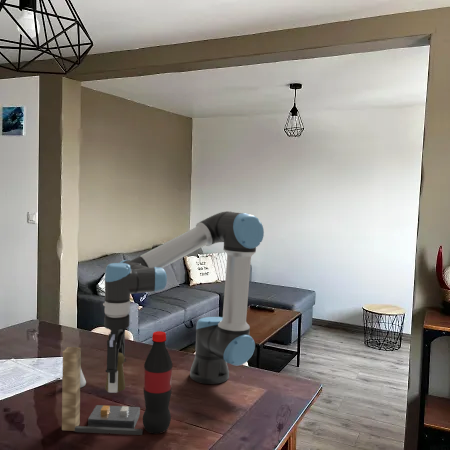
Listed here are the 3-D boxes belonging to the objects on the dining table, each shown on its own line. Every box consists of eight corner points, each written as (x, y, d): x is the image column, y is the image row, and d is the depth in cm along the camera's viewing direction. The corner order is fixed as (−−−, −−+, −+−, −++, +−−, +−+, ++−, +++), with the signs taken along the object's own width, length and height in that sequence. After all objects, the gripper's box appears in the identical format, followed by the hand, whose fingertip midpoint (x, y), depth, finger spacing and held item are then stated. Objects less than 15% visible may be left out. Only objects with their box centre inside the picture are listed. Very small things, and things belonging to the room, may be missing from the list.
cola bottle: (171, 422, 148) (174, 328, 145) (169, 436, 140) (172, 337, 137) (144, 421, 148) (147, 327, 145) (140, 435, 139) (143, 336, 137)
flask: (79, 390, 167) (80, 363, 166) (61, 388, 169) (61, 360, 168) (89, 382, 174) (90, 356, 173) (71, 379, 176) (72, 353, 175)
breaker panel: (139, 414, 152) (140, 402, 152) (134, 429, 143) (134, 416, 143) (96, 412, 152) (96, 400, 152) (87, 427, 143) (88, 414, 143)
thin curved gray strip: (142, 432, 141) (142, 429, 141) (142, 435, 140) (142, 431, 140) (75, 429, 141) (76, 425, 141) (74, 431, 140) (74, 428, 140)
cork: (101, 388, 146) (101, 353, 145) (117, 382, 151) (117, 348, 150) (113, 394, 142) (114, 358, 141) (129, 387, 147) (130, 353, 146)
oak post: (79, 424, 145) (80, 347, 142) (75, 430, 141) (76, 352, 138) (66, 423, 145) (67, 347, 142) (61, 430, 141) (62, 351, 138)
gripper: (112, 305, 154) (111, 374, 156) (95, 322, 135) (94, 400, 137) (135, 306, 154) (133, 375, 156) (122, 323, 135) (120, 401, 137)
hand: (115, 387), depth 147 cm, fingers closed on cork, 6 cm apart
